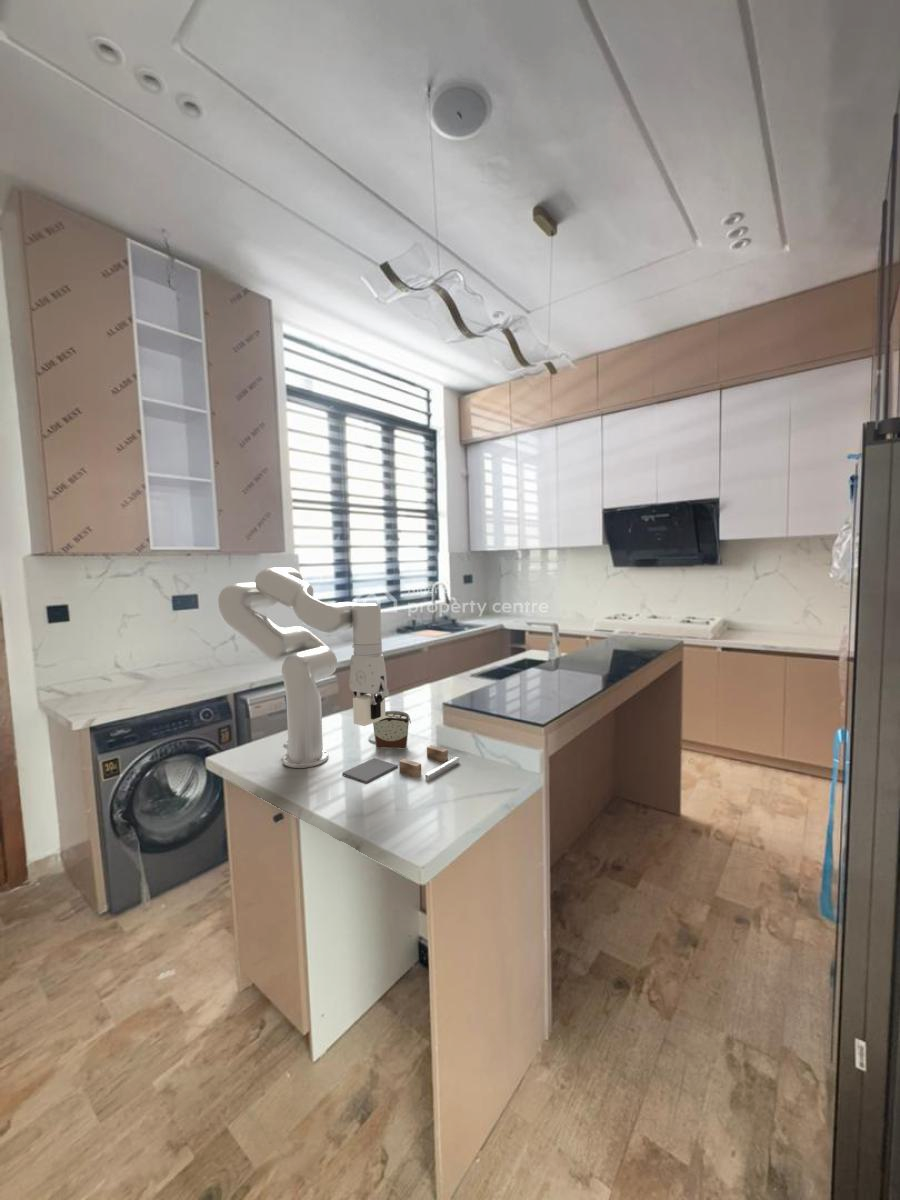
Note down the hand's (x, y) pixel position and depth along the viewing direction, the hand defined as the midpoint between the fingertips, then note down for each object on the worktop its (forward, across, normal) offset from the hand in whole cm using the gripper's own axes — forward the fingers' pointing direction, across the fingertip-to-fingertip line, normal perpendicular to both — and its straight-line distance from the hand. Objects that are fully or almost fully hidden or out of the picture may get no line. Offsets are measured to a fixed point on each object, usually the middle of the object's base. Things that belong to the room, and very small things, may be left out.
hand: (369, 715), depth 132 cm
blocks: (+15, +12, +11) cm, 22 cm away
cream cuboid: (+1, 0, 0) cm, 1 cm away
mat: (+15, 0, 0) cm, 15 cm away
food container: (+16, -8, +18) cm, 25 cm away
